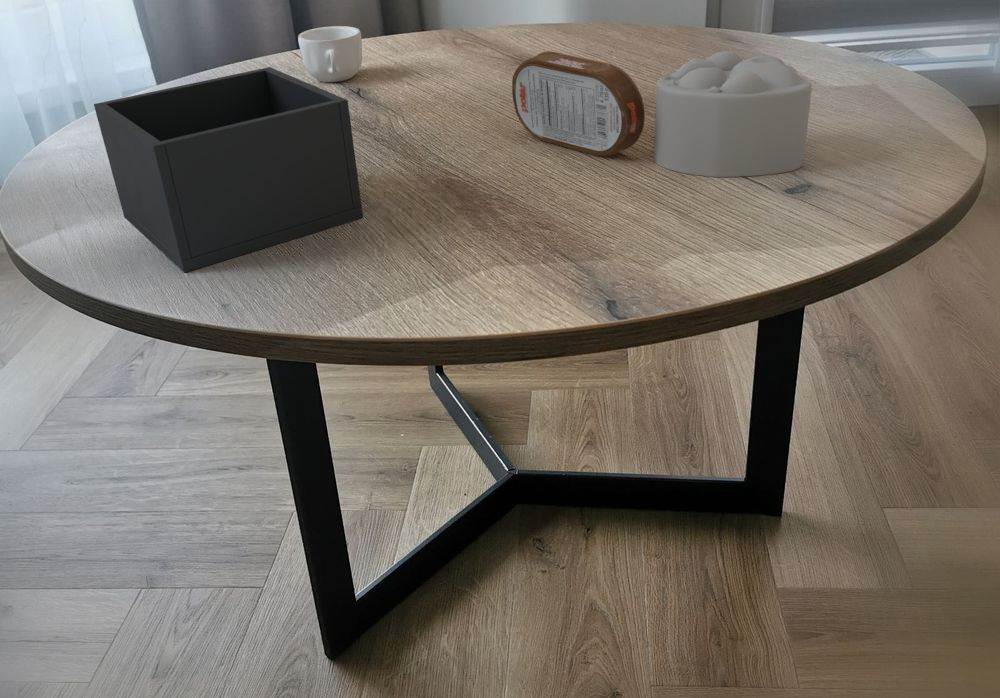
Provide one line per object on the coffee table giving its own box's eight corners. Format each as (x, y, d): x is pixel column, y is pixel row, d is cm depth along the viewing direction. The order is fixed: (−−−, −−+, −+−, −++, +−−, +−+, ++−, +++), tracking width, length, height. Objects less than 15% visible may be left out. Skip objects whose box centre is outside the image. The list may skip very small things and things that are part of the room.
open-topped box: (184, 273, 73) (153, 146, 68) (124, 217, 83) (93, 103, 78) (363, 217, 80) (347, 99, 75) (288, 173, 91) (269, 66, 86)
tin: (645, 158, 89) (648, 67, 85) (624, 167, 88) (625, 75, 83) (530, 127, 99) (527, 44, 95) (508, 135, 97) (504, 51, 93)
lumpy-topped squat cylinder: (812, 172, 84) (824, 73, 80) (664, 181, 84) (668, 82, 80) (778, 134, 93) (787, 43, 89) (645, 142, 93) (647, 51, 89)
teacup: (304, 72, 123) (297, 29, 120) (363, 66, 124) (358, 23, 121) (305, 93, 114) (298, 47, 112) (369, 87, 115) (363, 41, 113)
